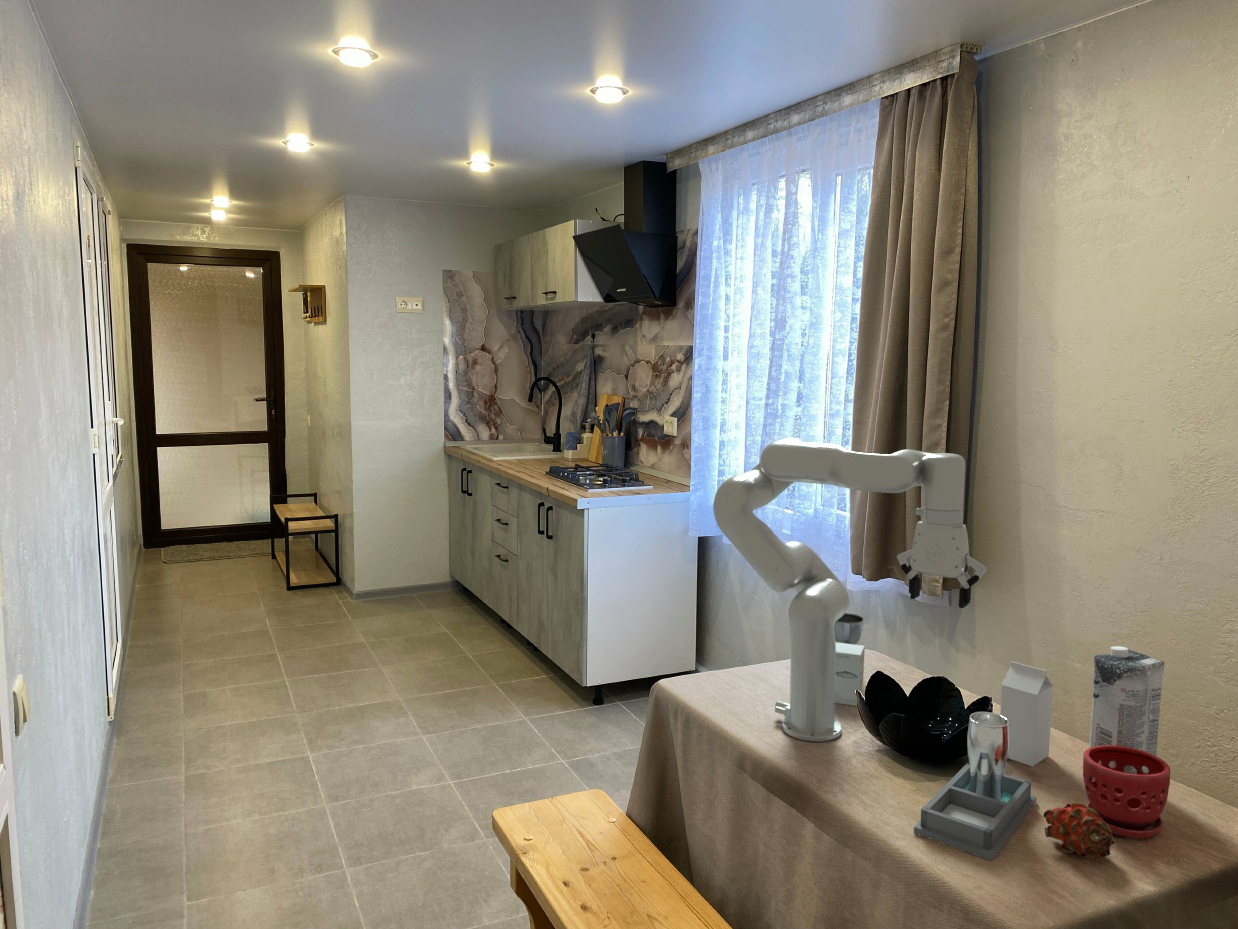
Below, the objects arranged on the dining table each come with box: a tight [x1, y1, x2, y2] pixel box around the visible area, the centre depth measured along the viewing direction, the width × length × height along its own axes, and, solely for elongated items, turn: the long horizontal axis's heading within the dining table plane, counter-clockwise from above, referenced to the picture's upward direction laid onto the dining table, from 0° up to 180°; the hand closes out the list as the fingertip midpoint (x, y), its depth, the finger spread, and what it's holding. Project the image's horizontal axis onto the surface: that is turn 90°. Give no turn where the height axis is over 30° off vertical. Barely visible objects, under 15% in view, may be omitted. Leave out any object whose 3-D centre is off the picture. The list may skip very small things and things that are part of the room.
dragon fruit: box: [1043, 801, 1116, 859], centre depth 148 cm, size 8×8×12 cm
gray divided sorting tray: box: [913, 762, 1037, 862], centre depth 158 cm, size 13×24×4 cm, turn 140°
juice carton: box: [1088, 645, 1165, 780], centre depth 166 cm, size 9×10×27 cm
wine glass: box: [834, 612, 864, 645], centre depth 225 cm, size 8×8×15 cm
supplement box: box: [835, 642, 866, 707], centre depth 211 cm, size 7×7×13 cm
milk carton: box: [999, 660, 1054, 767], centre depth 181 cm, size 7×7×19 cm
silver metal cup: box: [966, 711, 1009, 802], centre depth 162 cm, size 7×7×15 cm
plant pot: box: [1082, 745, 1171, 839], centre depth 156 cm, size 13×13×12 cm
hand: (938, 602), depth 178 cm, fingers open, 9 cm apart
